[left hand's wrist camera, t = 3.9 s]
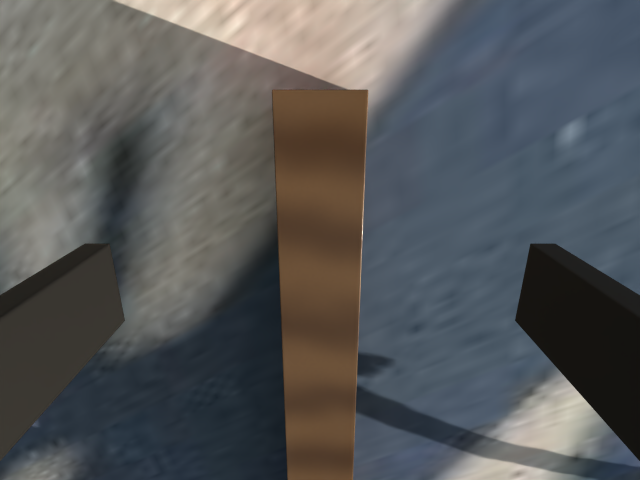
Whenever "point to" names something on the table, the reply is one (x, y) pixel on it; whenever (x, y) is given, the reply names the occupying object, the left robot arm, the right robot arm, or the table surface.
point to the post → (320, 272)
